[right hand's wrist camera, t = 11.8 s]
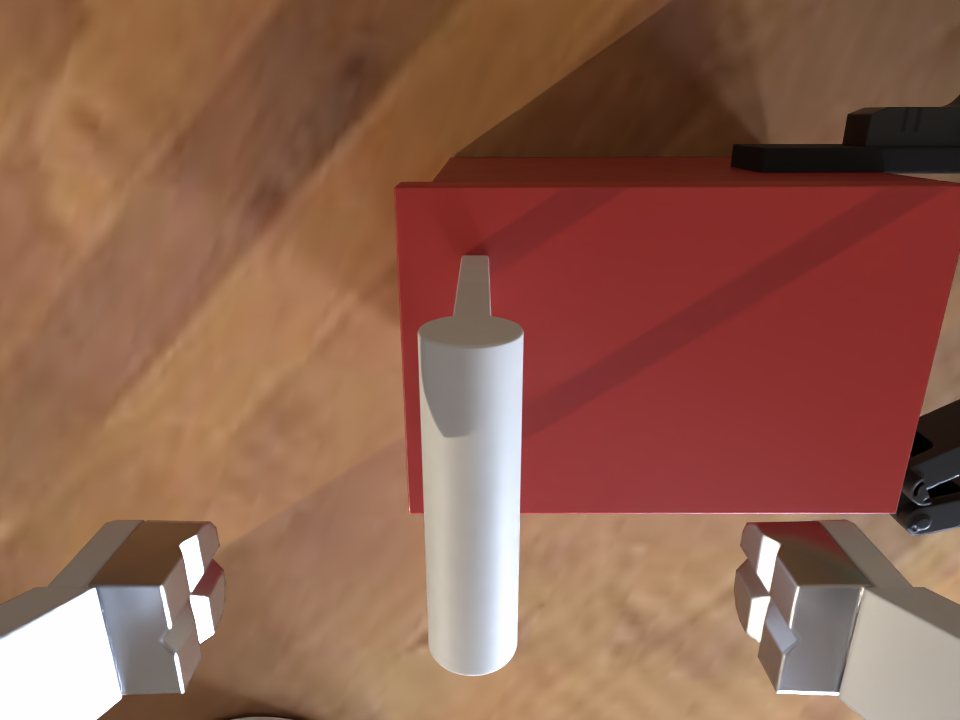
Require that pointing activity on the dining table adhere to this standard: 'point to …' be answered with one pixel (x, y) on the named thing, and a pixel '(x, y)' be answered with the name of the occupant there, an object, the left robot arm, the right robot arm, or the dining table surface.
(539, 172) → the chest
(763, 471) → the lid
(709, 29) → the dining table surface
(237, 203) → the dining table surface
